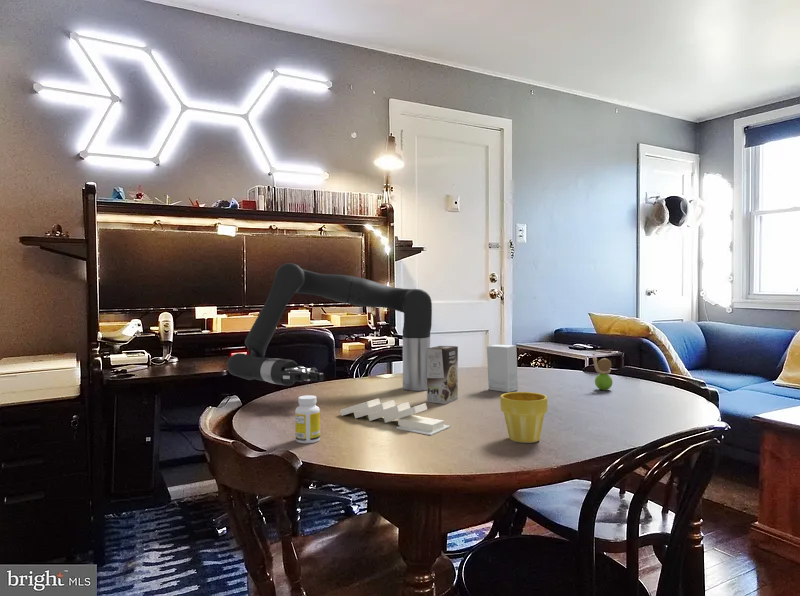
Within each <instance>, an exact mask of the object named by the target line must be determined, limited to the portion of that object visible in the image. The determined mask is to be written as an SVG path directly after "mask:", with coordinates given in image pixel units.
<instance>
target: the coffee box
mask: <svg viewBox="0 0 800 596" xmlns="http://www.w3.org/2000/svg"><path fill="white" fill-rule="evenodd" d="M458 353H459V347H458V345H457V346H456V345H455V346H454V345H437V346H433V347H430V348H427V390H426V402H428V403H434V404H441V405H446V404H448V403H451V402H453V401H455V400H457V399H458V398H459V395H458V394H459V388H458V387H459V381H458V380H459V378H458V377H459V375H458V374H459V369H458V368H459V367H458V366H459V354H458Z"/></svg>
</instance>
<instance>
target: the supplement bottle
mask: <svg viewBox="0 0 800 596" xmlns="http://www.w3.org/2000/svg"><path fill="white" fill-rule="evenodd" d="M297 401H298V402H297V403H298V406H297V407H296V408H295V411H294V412H295V413H294V414H295V441H296V442H297V443H299V444H314V443H318V442H319V441H320V440H321V415H320V414H321V409H320V407H319V406H317V405H316V404H317V396H316V395H301V396H298V399H297Z"/></svg>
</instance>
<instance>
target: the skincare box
mask: <svg viewBox="0 0 800 596" xmlns="http://www.w3.org/2000/svg"><path fill="white" fill-rule="evenodd" d="M517 355H518V354H517V345H515V344H497V343H496V344H492V345H491V344H490V345H487V346H486V359H487V363H486V364H487V382H488V383H487V384H488V390H489V391H495V392H496V391H498V392H504V393H510V392H518V390H519V386H518V385H519V381H518V377H519V376H518V359H517V357H518V356H517Z"/></svg>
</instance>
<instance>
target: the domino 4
mask: <svg viewBox="0 0 800 596" xmlns="http://www.w3.org/2000/svg"><path fill="white" fill-rule="evenodd" d="M426 410H428V406H427V403H426V402H424V403H422V404H418V405H414V406H412V407H411V406H410V408H408V409H405V410H402V411H399V412H396V413H393V414H390V415H387V416H384V417H383V420H384V423H385V424H387V423H389V422H393V421H396V420H398V419H399V418H402V417H406V416H409V415H414V414H417V413H421V412H424V411H426Z"/></svg>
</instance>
